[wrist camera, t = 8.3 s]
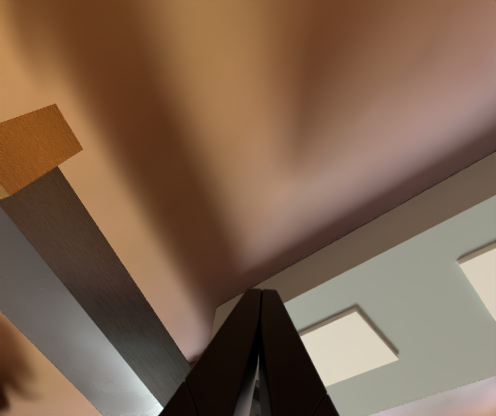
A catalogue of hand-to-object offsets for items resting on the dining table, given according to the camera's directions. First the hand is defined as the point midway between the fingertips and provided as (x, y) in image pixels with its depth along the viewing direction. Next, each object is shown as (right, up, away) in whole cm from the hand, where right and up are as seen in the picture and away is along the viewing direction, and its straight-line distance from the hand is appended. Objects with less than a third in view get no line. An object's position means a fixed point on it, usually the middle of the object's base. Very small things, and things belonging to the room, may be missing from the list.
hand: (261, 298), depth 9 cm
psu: (+6, -1, +4) cm, 8 cm away
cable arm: (-4, -3, +3) cm, 6 cm away
